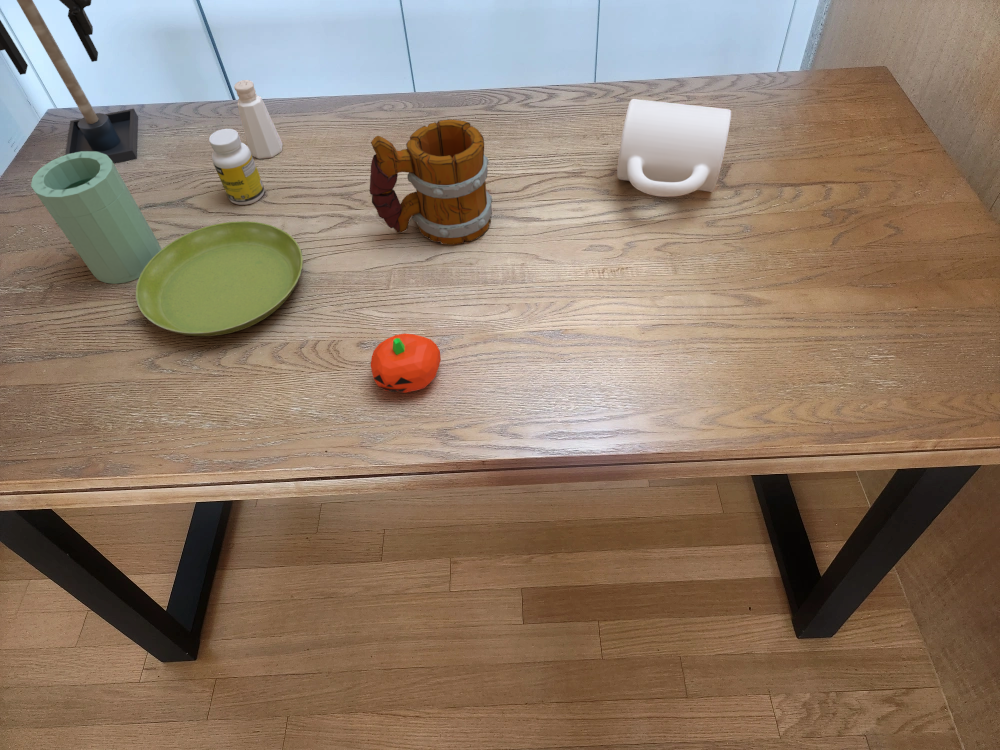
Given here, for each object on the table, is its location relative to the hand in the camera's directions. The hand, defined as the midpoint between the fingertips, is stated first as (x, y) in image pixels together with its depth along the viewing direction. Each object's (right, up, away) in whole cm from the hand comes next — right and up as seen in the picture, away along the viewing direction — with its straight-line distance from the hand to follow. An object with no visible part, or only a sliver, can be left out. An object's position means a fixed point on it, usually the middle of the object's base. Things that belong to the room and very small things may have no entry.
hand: (59, 63), depth 98 cm
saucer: (+30, -35, -11) cm, 47 cm away
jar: (+14, -30, -7) cm, 34 cm away
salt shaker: (+28, -10, +8) cm, 31 cm away
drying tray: (+1, -8, +11) cm, 14 cm away
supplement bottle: (+27, -19, +1) cm, 33 cm away
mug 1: (+56, -25, -5) cm, 62 cm away
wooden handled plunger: (+1, -8, +10) cm, 13 cm away
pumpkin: (+55, -46, -21) cm, 75 cm away
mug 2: (+89, -19, -2) cm, 91 cm away
